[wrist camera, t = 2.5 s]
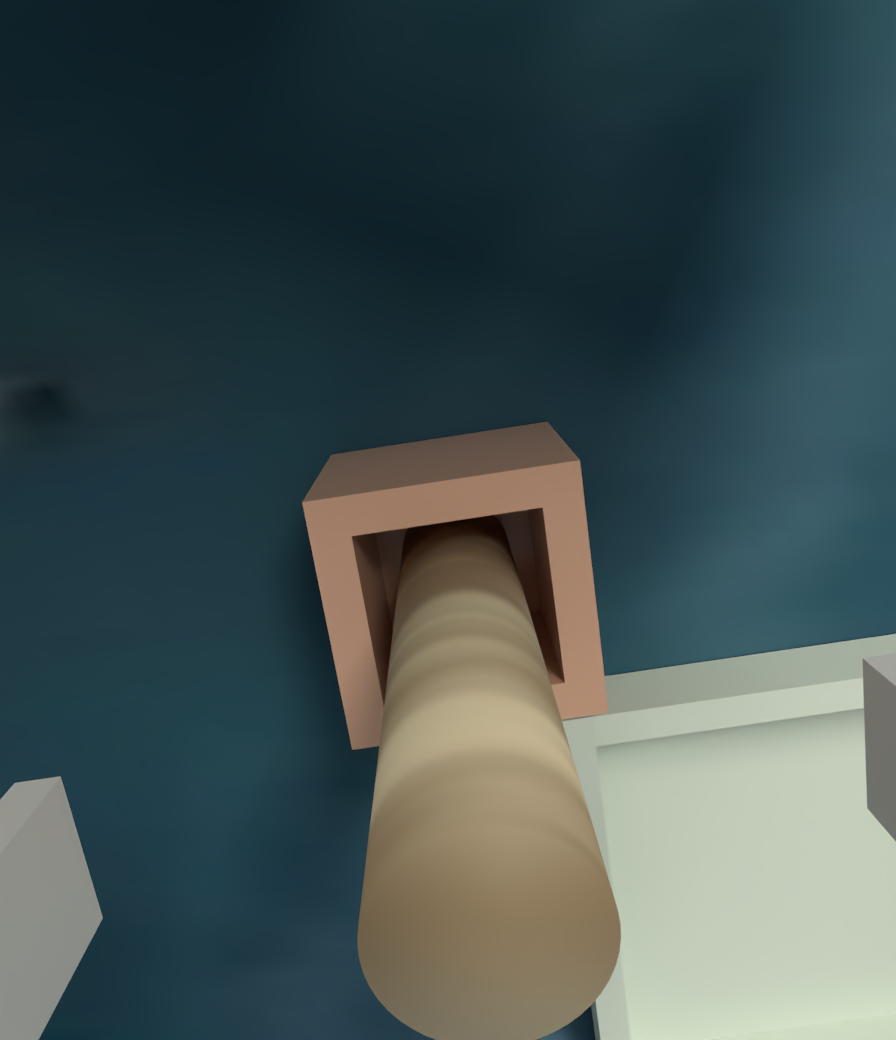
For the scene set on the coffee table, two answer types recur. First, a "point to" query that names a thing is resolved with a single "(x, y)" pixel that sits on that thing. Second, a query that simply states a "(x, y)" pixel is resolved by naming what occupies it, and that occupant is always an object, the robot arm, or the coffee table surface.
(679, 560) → the coffee table surface
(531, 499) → the holder
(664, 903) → the tray
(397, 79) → the coffee table surface
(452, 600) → the pin
